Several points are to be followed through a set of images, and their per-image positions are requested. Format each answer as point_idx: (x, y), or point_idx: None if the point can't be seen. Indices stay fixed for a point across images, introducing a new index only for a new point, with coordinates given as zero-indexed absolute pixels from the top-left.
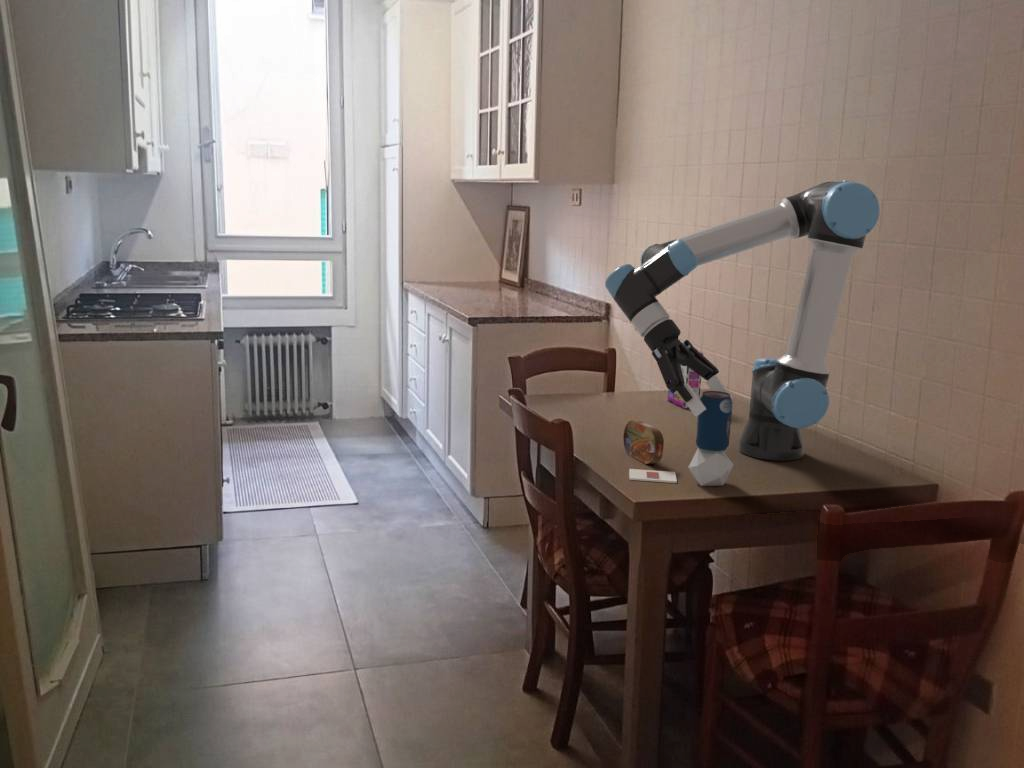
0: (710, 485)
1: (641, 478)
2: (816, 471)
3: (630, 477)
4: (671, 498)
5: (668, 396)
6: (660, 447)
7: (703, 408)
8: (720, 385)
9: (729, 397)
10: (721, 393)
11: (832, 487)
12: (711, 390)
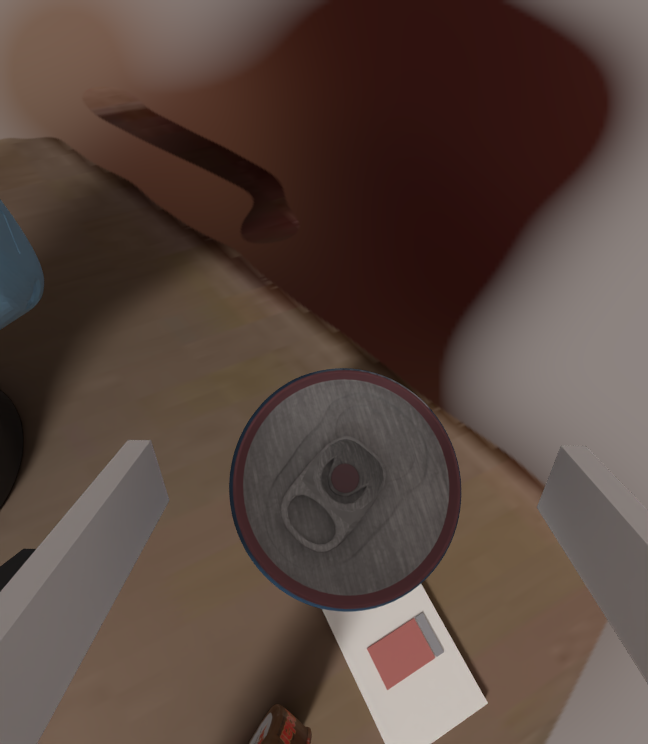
0: None
1: (461, 664)
2: (65, 313)
3: (480, 704)
4: (532, 499)
5: None
6: (286, 733)
7: (591, 457)
8: (70, 561)
9: (327, 376)
10: (247, 475)
11: (176, 251)
12: (94, 637)
